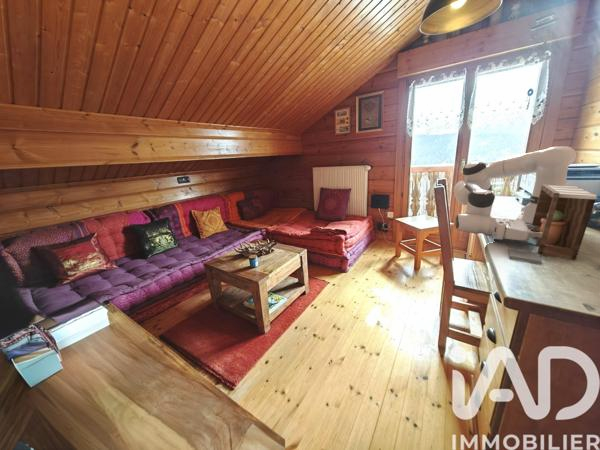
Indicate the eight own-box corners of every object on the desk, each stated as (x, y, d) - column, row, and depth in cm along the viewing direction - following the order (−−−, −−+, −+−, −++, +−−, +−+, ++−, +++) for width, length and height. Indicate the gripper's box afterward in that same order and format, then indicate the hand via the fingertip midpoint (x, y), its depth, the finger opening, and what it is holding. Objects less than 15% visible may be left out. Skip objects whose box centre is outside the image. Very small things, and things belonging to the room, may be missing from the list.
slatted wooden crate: (528, 235, 109) (541, 184, 102) (559, 239, 103) (575, 185, 96) (537, 254, 90) (554, 192, 83) (575, 260, 84) (597, 194, 77)
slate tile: (507, 250, 94) (508, 247, 94) (537, 254, 89) (537, 252, 89) (509, 258, 87) (510, 255, 87) (541, 263, 82) (541, 261, 82)
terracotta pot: (533, 241, 102) (542, 207, 97) (556, 244, 97) (567, 209, 93) (535, 246, 96) (545, 211, 92) (560, 250, 92) (571, 213, 88)
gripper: (496, 227, 113) (536, 232, 105) (497, 240, 98) (544, 246, 90) (499, 214, 111) (539, 218, 103) (500, 225, 96) (549, 231, 88)
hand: (542, 231), depth 96 cm, fingers open, 8 cm apart
